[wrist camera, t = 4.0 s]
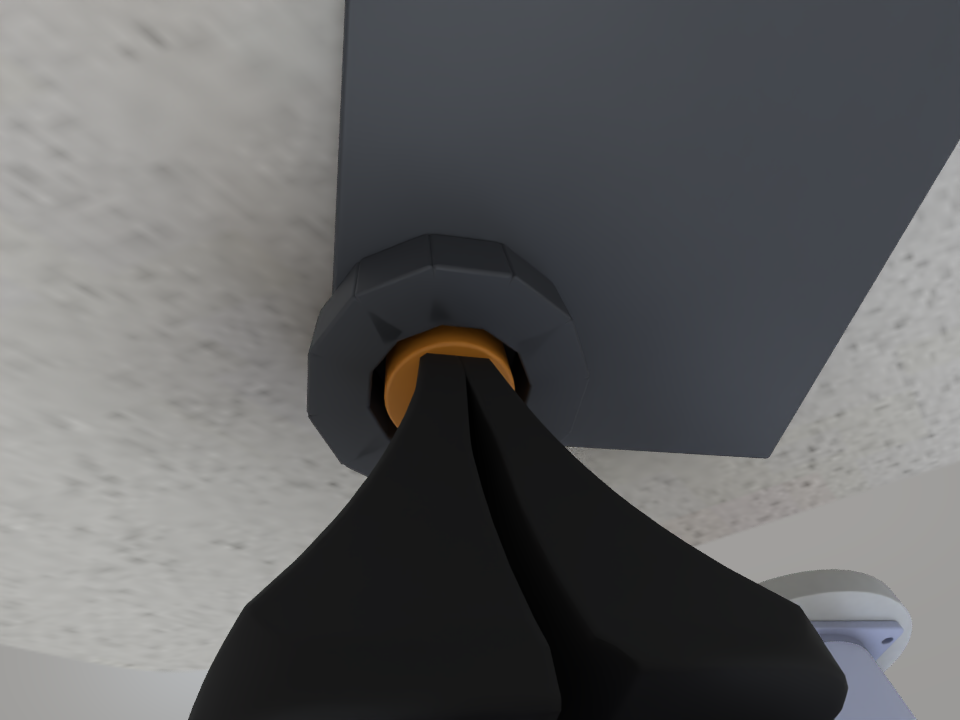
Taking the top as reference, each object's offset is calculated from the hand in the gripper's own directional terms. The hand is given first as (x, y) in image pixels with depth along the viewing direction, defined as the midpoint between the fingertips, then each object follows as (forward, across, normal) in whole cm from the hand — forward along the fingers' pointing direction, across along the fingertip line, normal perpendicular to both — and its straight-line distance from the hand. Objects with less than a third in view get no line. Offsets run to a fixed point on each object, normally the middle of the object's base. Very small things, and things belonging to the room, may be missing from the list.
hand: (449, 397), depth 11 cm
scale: (+3, -4, -4) cm, 6 cm away
